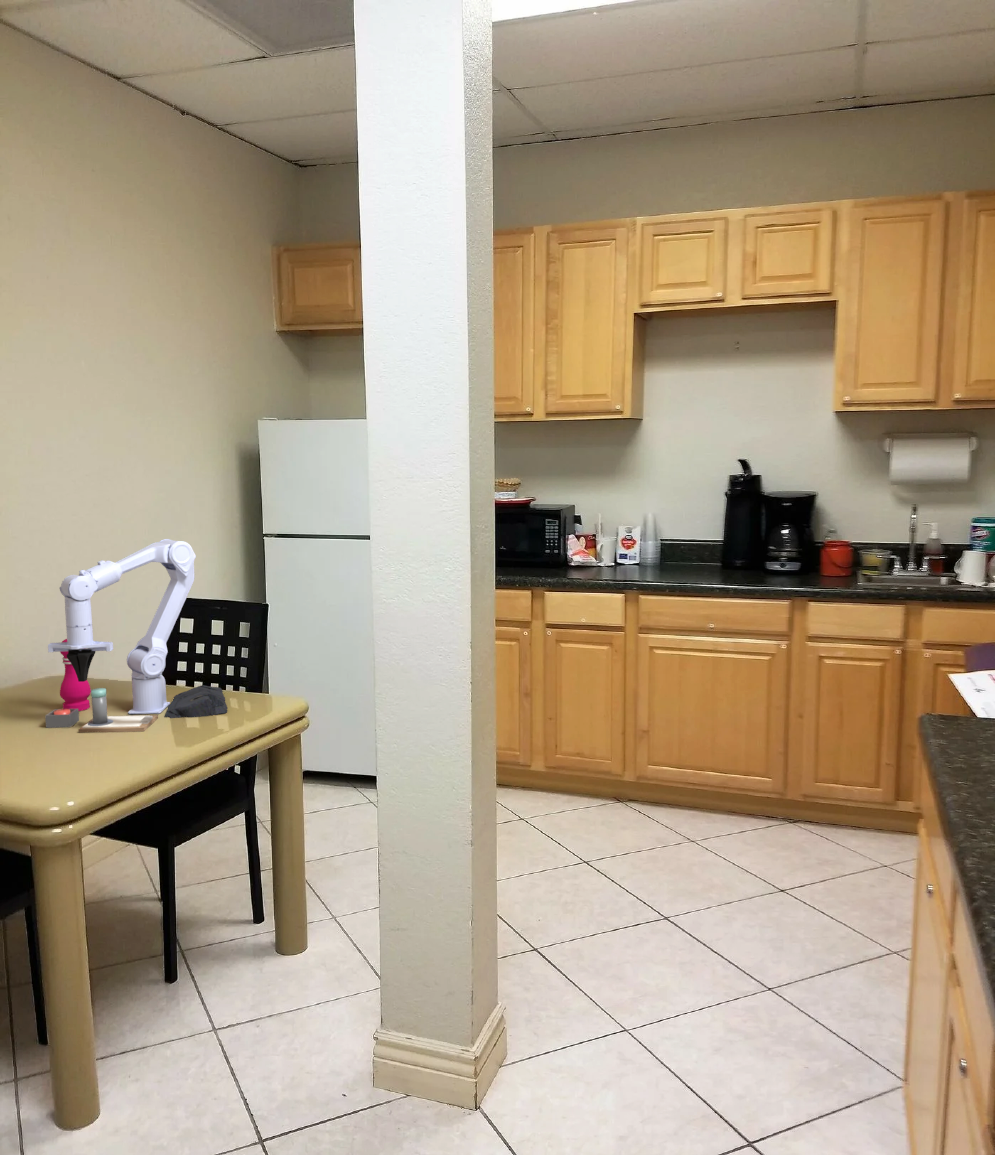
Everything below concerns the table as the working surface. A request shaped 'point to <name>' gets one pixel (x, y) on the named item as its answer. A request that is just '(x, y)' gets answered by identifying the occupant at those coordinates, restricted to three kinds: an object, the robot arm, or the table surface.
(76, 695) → the pepper mill
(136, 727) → the clipboard
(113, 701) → the table surface
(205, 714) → the dark slate chunk
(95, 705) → the marker
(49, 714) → the button box
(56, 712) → the button
